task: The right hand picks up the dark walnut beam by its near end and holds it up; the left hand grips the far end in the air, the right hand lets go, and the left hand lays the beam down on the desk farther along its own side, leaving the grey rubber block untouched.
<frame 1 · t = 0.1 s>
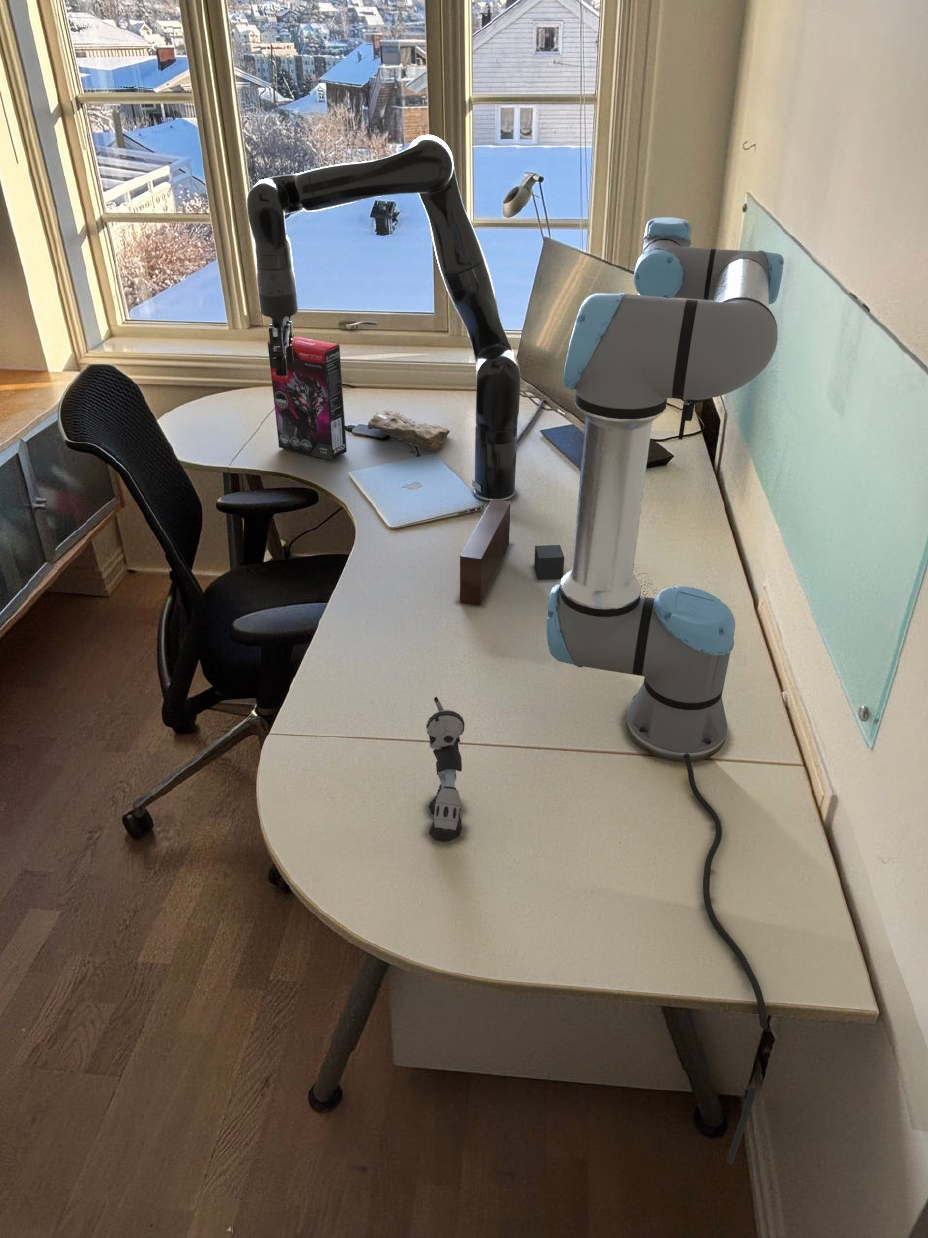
left hand: (285, 368, 194), 29 cm above the table, fingers open, 8 cm apart
right hand: (643, 432, 170), 28 cm above the table, fingers open, 13 cm apart
grey block: (548, 573, 182), on the table
stone: (405, 440, 237), on the table
beam: (485, 572, 182), on the table
graphics card box: (312, 451, 231), on the table
robot: (445, 820, 127), on the table
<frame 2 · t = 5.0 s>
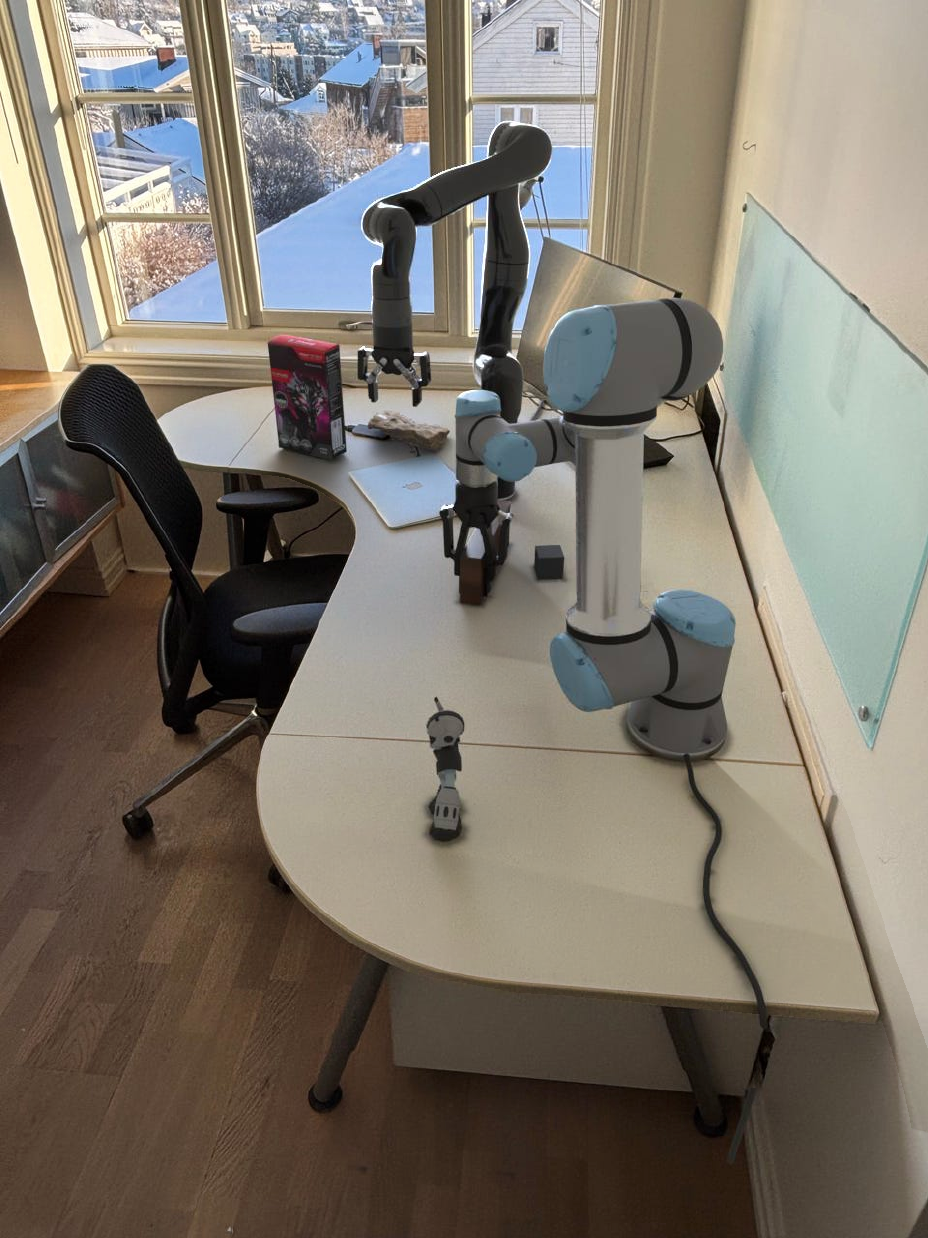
left hand: (395, 403, 181), 28 cm above the table, fingers open, 8 cm apart
right hand: (474, 591, 175), 1 cm above the table, fingers closed on beam, 4 cm apart
beam: (485, 572, 182), on the table, touching right hand
everything else where it was.
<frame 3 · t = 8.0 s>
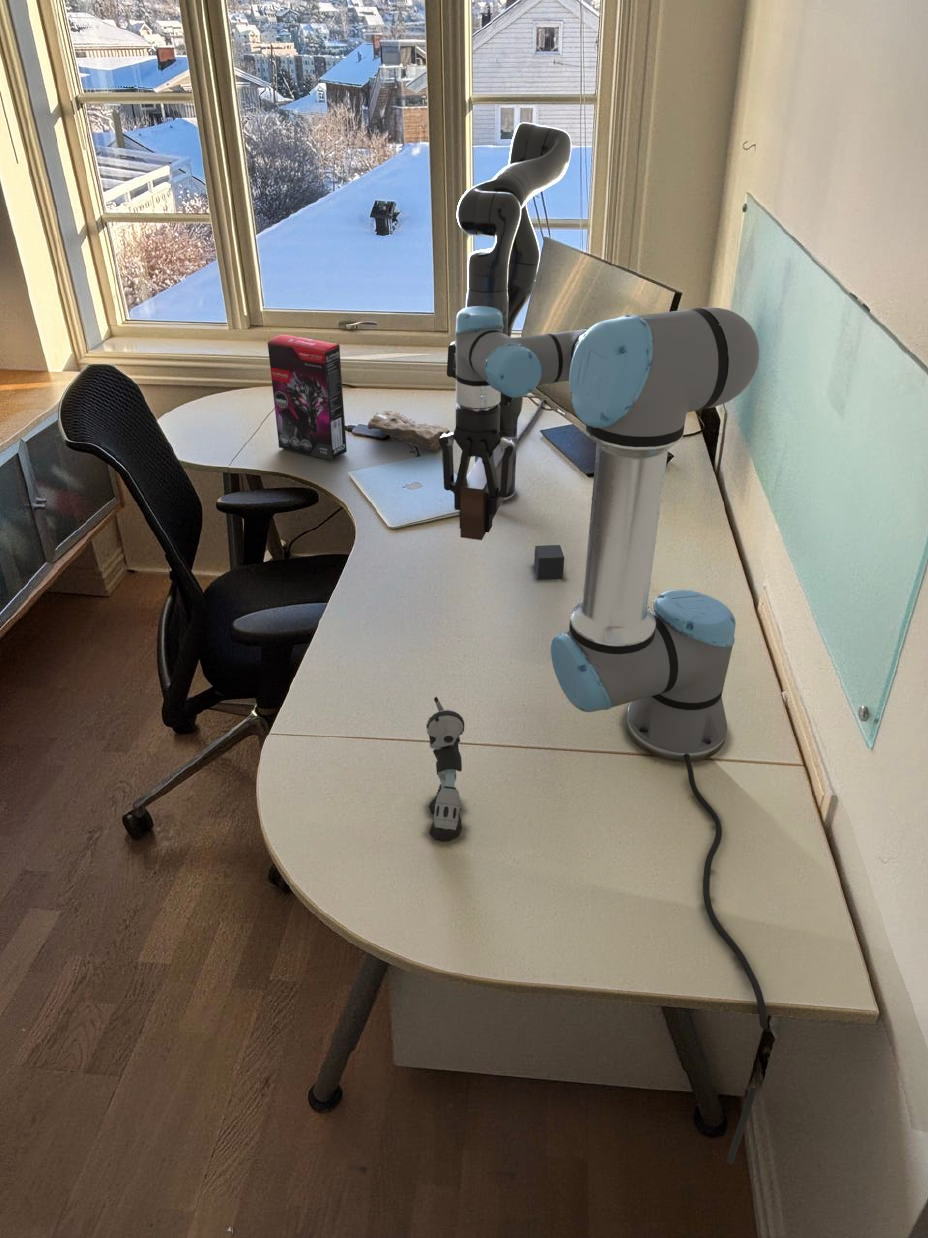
left hand: (484, 401, 173), 32 cm above the table, fingers open, 8 cm apart
right hand: (476, 526, 167), 15 cm above the table, fingers closed on beam, 4 cm apart
beam: (487, 509, 175), point 14 cm above the table, touching right hand
everything else where it was.
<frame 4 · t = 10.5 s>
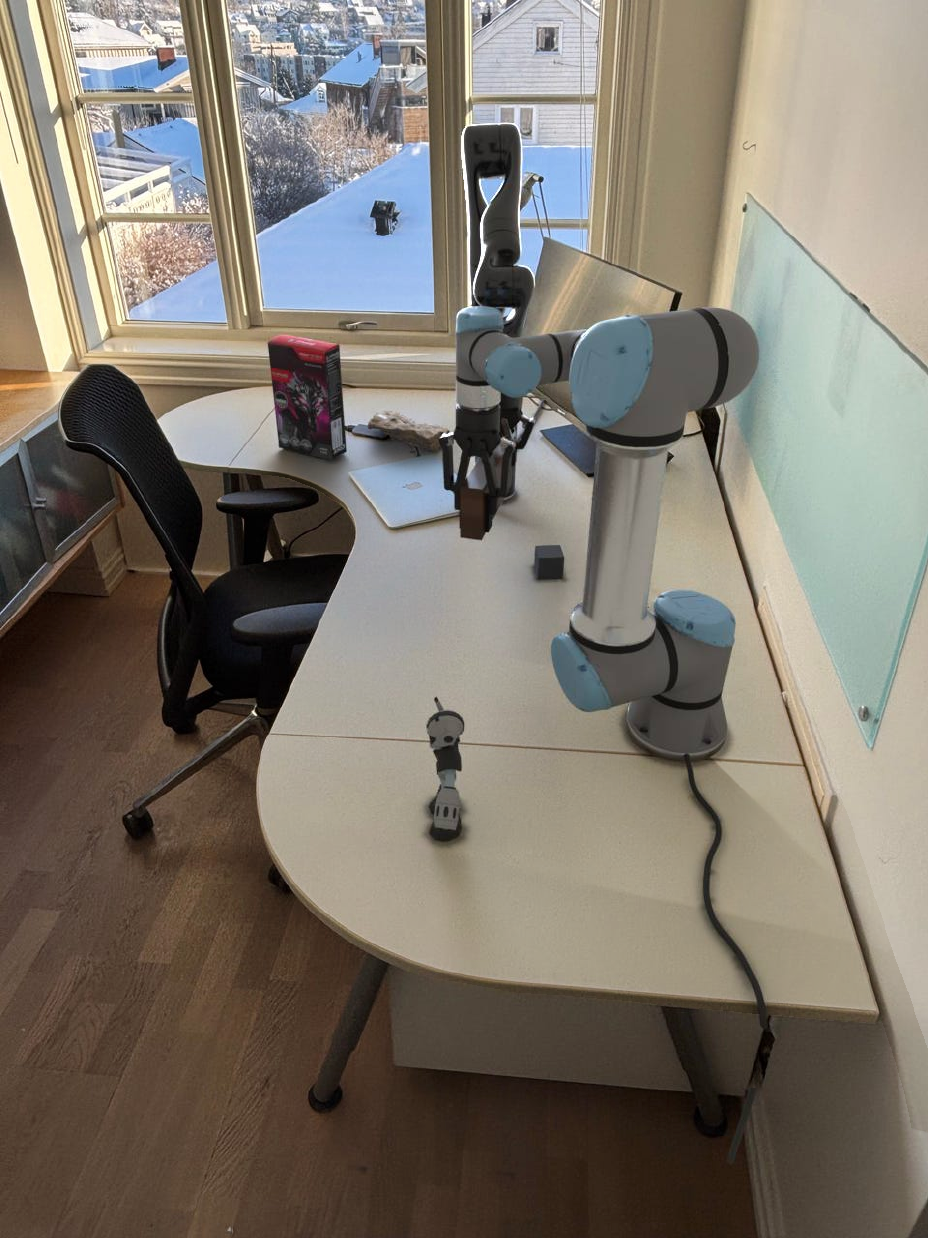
left hand: (498, 465, 178), 19 cm above the table, fingers closed on beam, 4 cm apart
right hand: (476, 526, 167), 15 cm above the table, fingers closed on beam, 4 cm apart
beam: (487, 509, 175), point 14 cm above the table, touching right hand, left hand
everything else where it was.
when the right hand's fingers open (15 cm above the table, at t = 11.2 s): beam stays where it is, held by the left hand.
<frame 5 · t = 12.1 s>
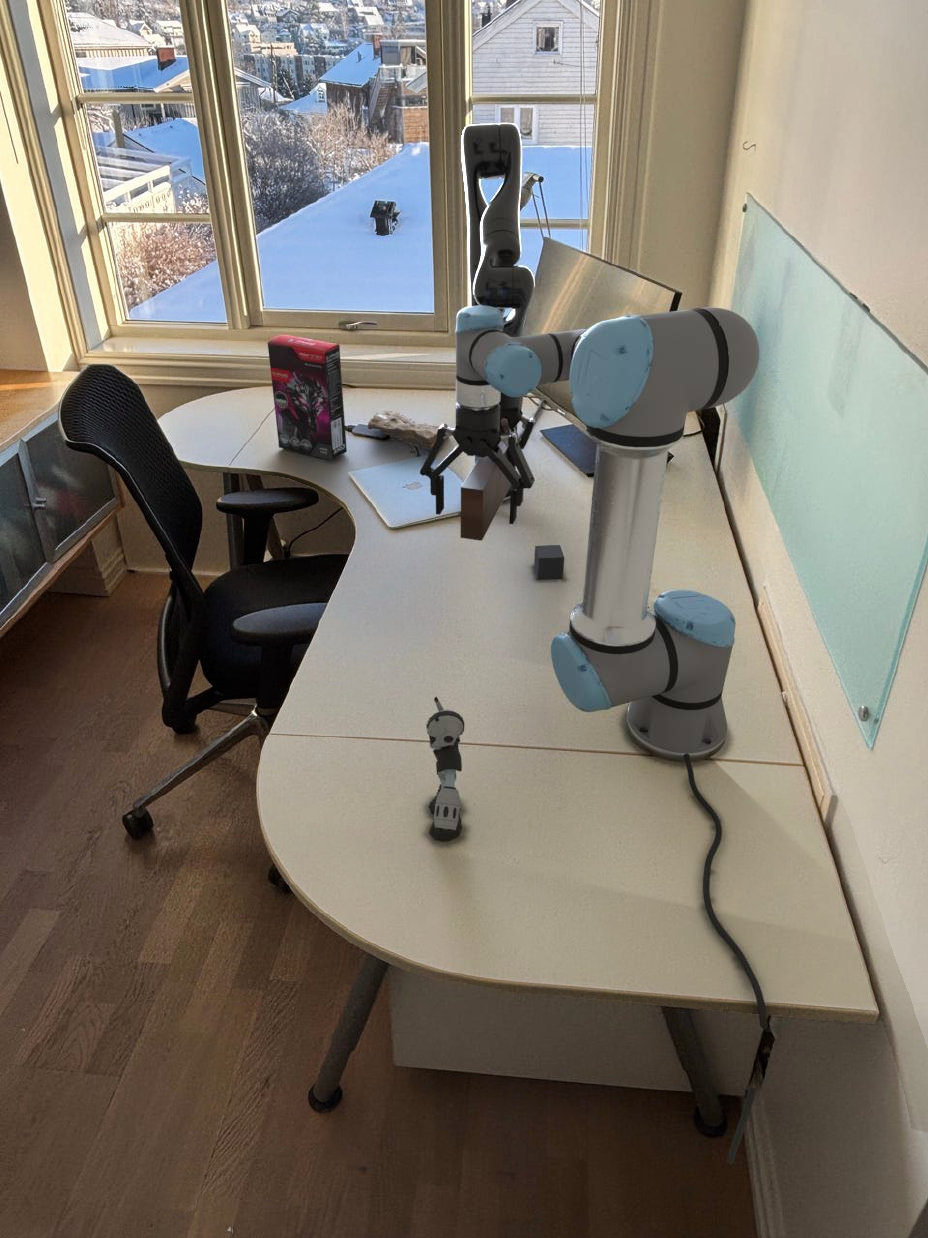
left hand: (498, 465, 179), 19 cm above the table, fingers closed on beam, 4 cm apart
right hand: (476, 516, 166), 17 cm above the table, fingers open, 13 cm apart
beam: (487, 509, 175), point 14 cm above the table, touching left hand
everything else where it was.
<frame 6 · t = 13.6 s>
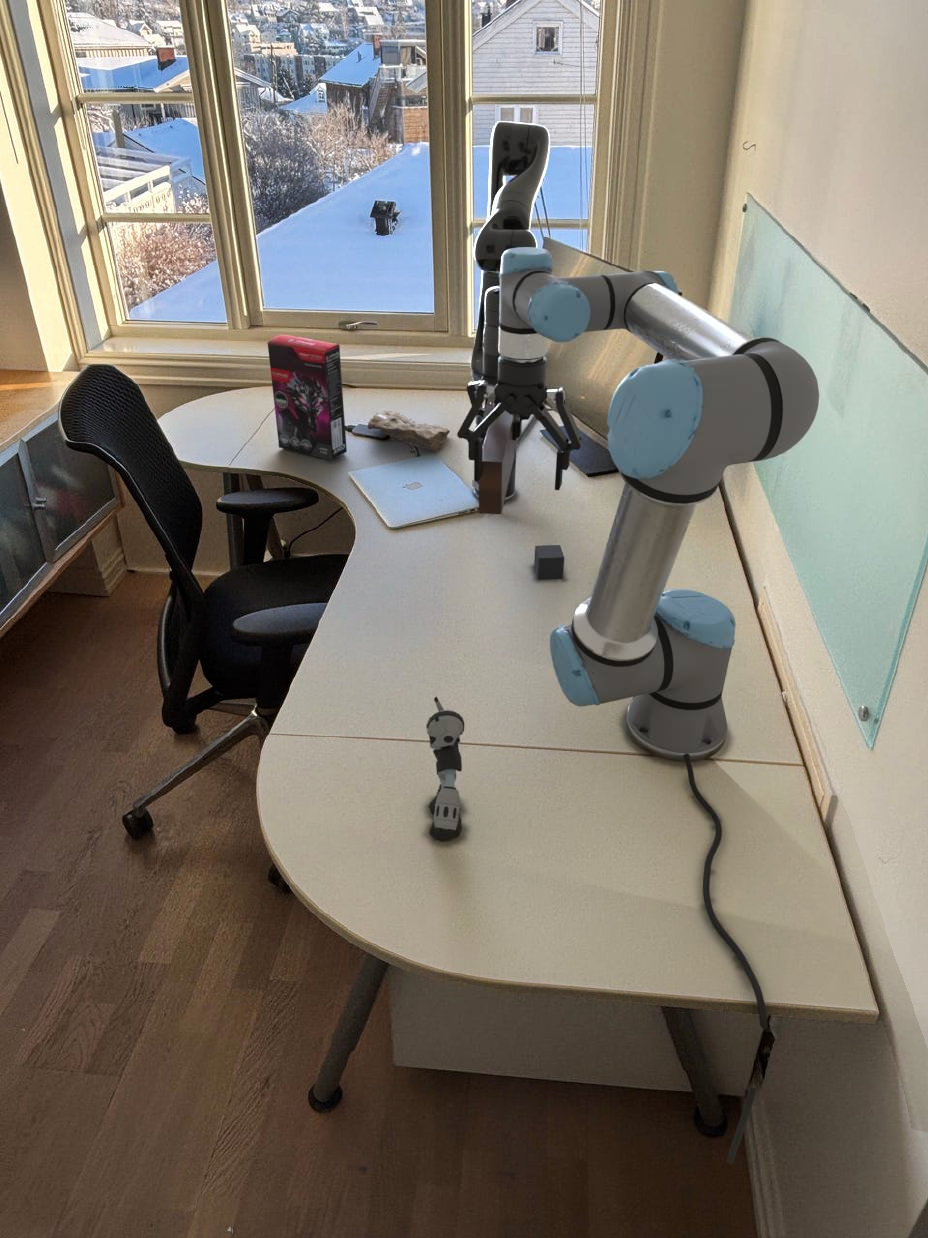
left hand: (502, 437, 175), 25 cm above the table, fingers closed on beam, 4 cm apart
right hand: (517, 482, 154), 27 cm above the table, fingers open, 13 cm apart
beam: (497, 483, 171), point 20 cm above the table, touching left hand
everything else where it was.
when the left hand's fingers open (7 cm above the table, at t = 19.4 s): beam stays where it is, on the table.
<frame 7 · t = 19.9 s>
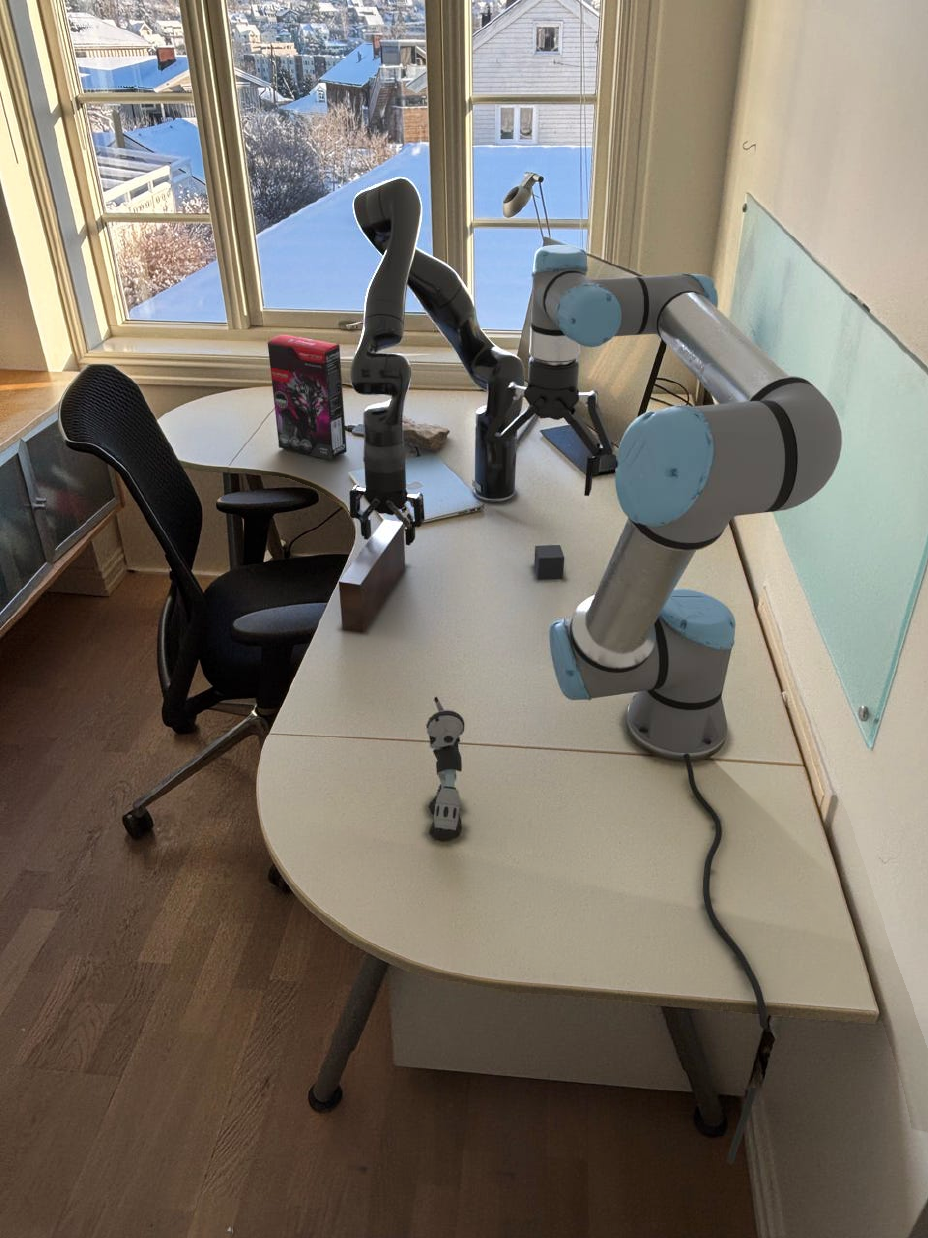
left hand: (388, 540, 177), 8 cm above the table, fingers open, 8 cm apart
right hand: (546, 487, 149), 29 cm above the table, fingers open, 13 cm apart
beam: (375, 596, 175), on the table
everything else where it was.
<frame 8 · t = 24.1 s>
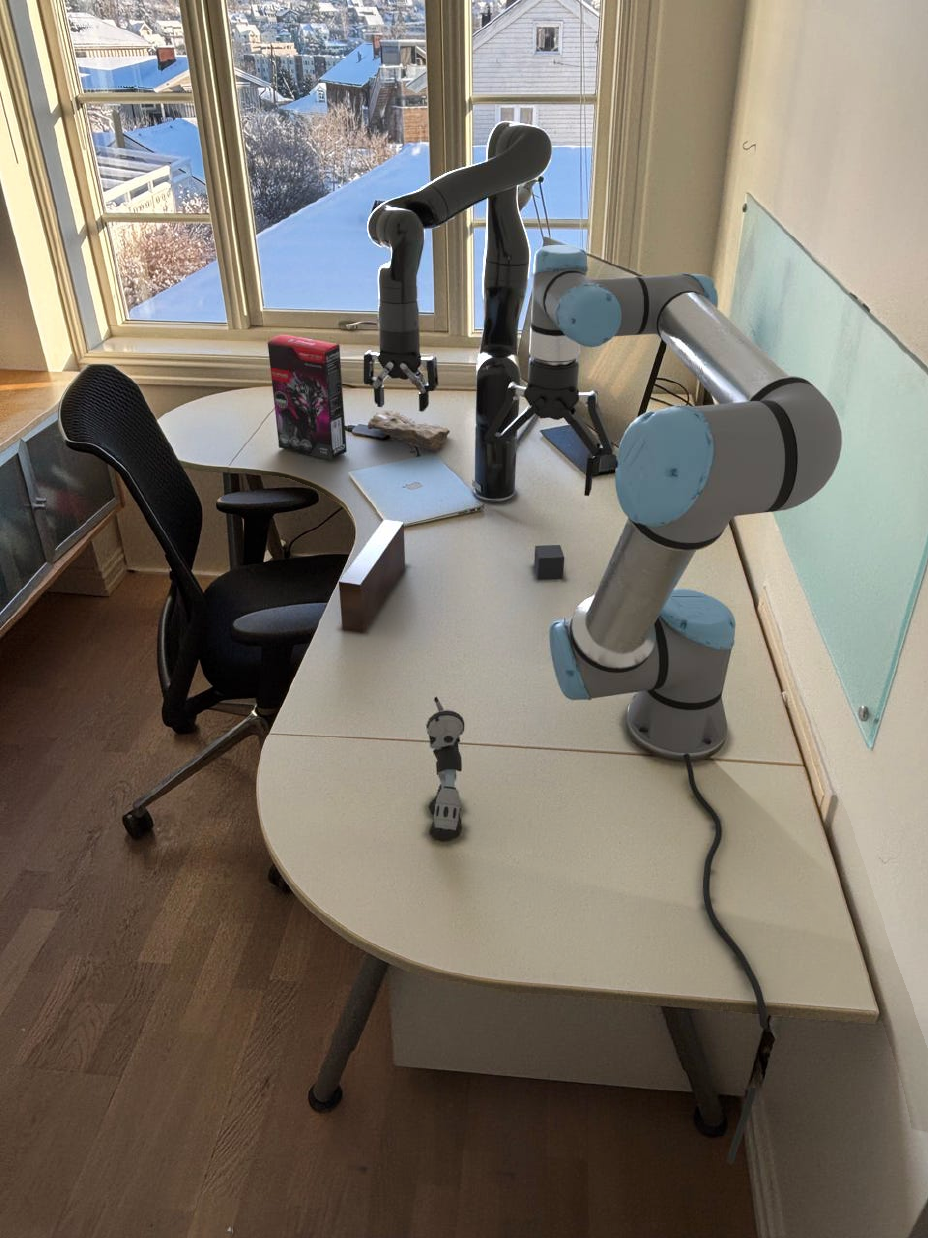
left hand: (401, 407, 179), 28 cm above the table, fingers open, 8 cm apart
right hand: (546, 487, 149), 29 cm above the table, fingers open, 13 cm apart
nothing on the table moved.
at the end: beam inside the target area (0.1 cm from its centre), on the table; both hands held the beam at the same time; the left hand is holding nothing; the right hand is holding nothing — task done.
